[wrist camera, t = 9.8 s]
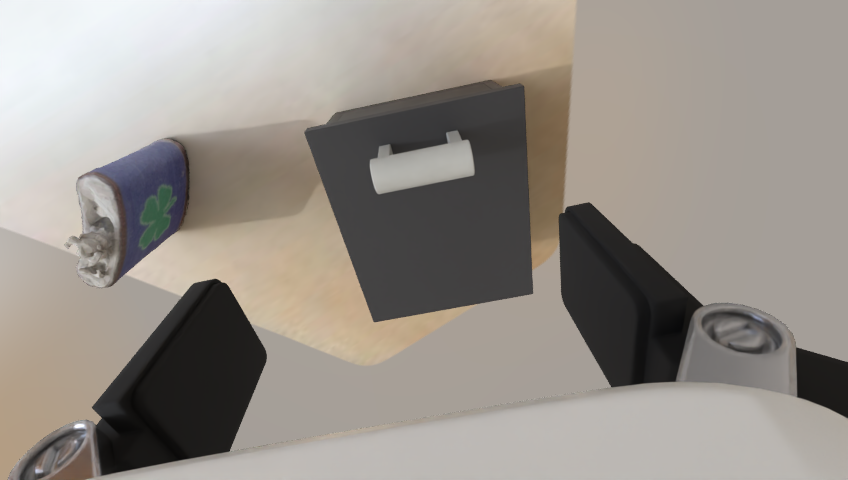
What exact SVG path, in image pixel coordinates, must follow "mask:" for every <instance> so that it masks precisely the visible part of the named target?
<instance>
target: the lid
mask: <svg viewBox="0 0 848 480" xmlns="http://www.w3.org/2000/svg"><path fill="white" fill-rule="evenodd" d="M304 133H305V136H306V138H307V141H308V144H309V147H310V149H311V152H312V155H313V157H314V160H315V163H316V166H317V168H318V171H319V174H320V177H321V179H322V182H323V185H324V187H325V190H326V193H327V196H328V198H329V201H330V204H331V207H332V209H333V212H334V215H335V217H336V220H337V223H338V226H339V228H340V231H341V234H342V237H343V239H344V242H345V245H346V247H347V250H348V253H349V256H350V258H351V261H352V264H353V267H354V269H355V272H356V275H357V277H358V280H359V283H360V286H361V288H362V291H363V294H364V297H365V299H366V302H367V305H368V307H369V310H370V313H371V316H372V318H373V321H374V322H379V321H384V320H390V319H396V318H401V317H407V316H412V315H418V314H423V313H429V312H435V311H440V310H446V309H451V308H457V307H463V306H468V305H474V304H479V303H485V302H490V301H496V300H502V299H507V298H513V297H518V296H524V295H529V294H533V281H532V258H531V235H530V212H529V189H528V166H527V143H526V119H525V96H524V86H523V85H522V84H520V83H519V84H515V85H510V86H505V87H500V88H496V89H491V90H486V91H481V92H477V93H472V94H467V95H462V96H458V97H453V98H448V99H443V100H439V101H434V102H429V103H425V104H420V105H415V106H410V107H406V108H401V109H396V110H391V111H387V112H382V113H377V114H372V115H368V116H363V117H358V118H353V119H349V120H344V121H339V122H334V123H330V124H325V125H320V126H316V127H311V128H307V129H306V131H305V132H304Z"/></svg>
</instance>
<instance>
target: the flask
mask: <svg viewBox="0 0 848 480" xmlns="http://www.w3.org/2000/svg"><path fill="white" fill-rule="evenodd" d="M175 142H176V143H175ZM175 142H174V140H173V141H172V140H171V139H160V140H158V141H156V142H154V143H152V144H150V145H148V146H146V147H144V148H142V149H140V150H138V151H136V152H134V153H132V154H130V155H128V156H126V157H123V158H121V159H119V160H117V161H114V162H112V163H110V164H108V165H105V166H103V167H101V168H96V169H94V170H92V171H90V172H88V173H86V174H84V175H82V176H80V177H79V178H78V180H77V183H76V190H77V194H78V197H79V204H80V207H81V213H82V217H81V218H82V224H83V234H81V235H80V236H79V238H80V239H79V238H77V237H75V236H71V237H69V238H68V240H67V242H66V243H65V244H64V246H65V247H66V248H67V249H69V247H70V245H75V246H77V247H78V250H77V252H76V254H77V255H78V256H79V257H80V259H79V261H78V263H77V273H78V276H79V277H80V278H82V279H83V282H85V283H86V284H88V285H89V286H92V287H97V288H106V287H110V286H112V285H113V284H114V283H116V282H117V281H118V280H119V279H120V278H121V277H122V276H123V275H124V274H125V273H127V272H128V271H129V270H130V269H131V268H133V267H134V266H135V265H136V264H137V263H138V262H140V261H141V260H142V259H143V258H144V257H145V256H147V255H148V254H149V253H150V252H151V251H153V250H154V249H156V248H157V247H158V246H159V245H160V244H161V243H162V242H164V241H165V240H166V239H167V238H169V237H170V236H171V235H172V234H174V233H175V232H176V231H178V230H179V229H180V226H182V224H183V221H184V217H185V215H186V211H187V208H188V207H187V206H188V200H189V195H188V192H189V191H188V190H189V167H188V166H189V162H188V158H187V154H186V150H184V147H183V146H182V145H181V144H180V143H178V142H177V141H175Z"/></svg>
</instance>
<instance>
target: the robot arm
mask: <svg viewBox="0 0 848 480" xmlns="http://www.w3.org/2000/svg"><path fill="white" fill-rule="evenodd" d="M559 239H560V267H561V268H560V269H561V295H562V298H563V302H564V305H565V307H566V309H567V310H568V312H569V314H570V316H571V317H572V319H573V321H574V323H575V324H576V326H577V328H578V330H579V331H580V333H581V335H582V337H583V338H584V340H585V342H586V344H587V345H588V347H589V349H590V350H591V352H592V354H593V356H594V357H595V359H596V361H597V363H598V364H599V366H600V368H601V370H602V371H603V373H604V375H605V377H606V378H607V380H608V382H609V384H610V385H611V388H604V389H597V390H590V391H584V392H577V393H571V394H564V395H557V396H551V397H544V398H538V399H531V400H526V401H519V402H513V403H507V404H501V405H495V406H489V407H484V408H478V409H472V410H466V411H460V412H454V413H448V414H442V415H436V416H430V417H424V418H419V419H413V420H406V421H401V422H395V423H389V424H384V425H378V426H372V427H366V428H360V429H355V430H349V431H344V432H338V433H332V434H326V435H320V436H315V437H309V438H304V439H297V440H292V441H286V442H281V443H275V444H269V445H264V446H258V447H253V448H247V449H242V450H236V451H231V452H229V451H230V449H231V446H232V444H233V441H234V439H235V436H236V434H237V432H238V429H239V427H240V424H241V422H242V419H243V417H244V414H245V412H246V409H247V407H248V405H249V402H250V400H251V397H252V395H253V393H254V390H255V388H256V385H257V383H258V380H259V378H260V375H261V373H262V371H263V368H264V366H265V363H266V359H267V354H266V350H265V348H264V347H263V345H262V343H261V341H260V340H259V338H258V336H257V335H256V333H255V331H254V329H253V328H252V326H251V324H250V322H249V321H248V319H247V317H246V315H245V314H244V312H243V310H242V309H241V307H240V305H239V303H238V302H237V300H236V298H235V297H234V295H233V293H232V291H231V290H230V288H229V286H228V285H227V284H226V283H222V282H221V281H219V280H218V279H212V280H207V281H202V282H198V283H194V284H193V285H192V286H191V287H190V288H189V289H188V291H187V292H186V293H185V294H184V295H183V297H182V298H181V299H180V300H179V302H178V303H177V304H176V305H175V306H174V308H173V309H172V310H171V311H170V313H169V314H168V315H167V316H166V318H165V319H164V320H163V321H162V322H161V324H160V325H159V326H158V327H157V329H156V330H155V331H154V332H153V333H152V335H151V336H150V337H149V338H148V339H147V341H146V342H145V343H144V344H143V346H142V347H141V348H140V349H139V350H138V352H137V353H136V354H135V355H134V357H133V358H132V359H131V361H129V363H128V364H127V365H126V366H125V368H124V369H123V370H122V371H121V372H120V374H119V375H118V376H117V378H116V379H115V380H114V381H113V382H112V383H111V385H110V386H109V387H108V388H107V390H106V391H105V392H104V393H103V394H102V396H101V397H100V398H99V399H98V401H97V402H96V403H95V404H94V406H93V407H92V408H93V409H94V410H95V411H96V412H97V413H98V414H99V415H100V416H101V417H102V419H101V420H100V421H99V423H98V424H97V425H95V424H94V423H93V422H92V421H89V420H80V421H76V422H73V423H70V424H67V425H65V426H63V427H61V428H59V429H57V430H56V431H54V432H52V433H51V434H49V435H48V436H46V437H45V438H43V439H42V440H40V441H39V442H38V443H37V444H36V445H34V446H33V447H32V448H31V449H30V450H28V451H27V453H26V454H25V455H24V456H23V457H22V458H21V459H20V460H19V461H18V462H17V464H16V465H15V466H14V468H13V469H12V471H11V472H10V475H9V477H8V480H848V362H845V361H841V360H838V359H835V358H831V357H828V356H824V355H821V354H817V353H814V352H810V351H807V350H803V349H800V348H796V342H795V339H794V336H793V333H792V332H791V331H790V330H789V329H788V327H787V326H786V325H785V324H784V323H782V322H781V321H779V320H778V319H776V318H775V317H773V316H772V315H770V314H768V313H766V312H763V311H761V310H759V309H756V308H752V307H749V306H745V305H741V304H733V303H714V304H709V305H706V306H703V305H702V304H701V303H700V302H699V301H698V300H697V299H696V298H695V297H694V296H692V295H691V294H690V293H689V292H688V291H687V290H686V289H685V288H684V287H683V286H682V285H681V284H680V283H679V282H678V281H676V280H675V279H674V278H673V277H672V276H671V275H670V274H669V273H668V272H667V271H666V270H665V269H664V268H663V267H662V266H660V265H659V264H658V263H657V262H656V261H655V260H654V259H653V258H652V257H651V256H650V255H649V254H648V253H646V252H645V251H644V250H643V249H642V248H641V247H640V246H639V245H637V244H633V243H632V242H631V241H630V240H629V239H628V238H627V237H625V236H624V235H623V234H622V233H621V232H620V231H619V230H618V229H617V228H616V227H615V226H614V225H613V224H612V223H611V222H610V221H609V220H608V219H607V218H606V217H605V216H604V215H602V214H601V213H600V212H599V211H598V210H597V209H596V208H595V207H594V206H593V205H592V204H591V203H583V204H579V205H574V206H569V207H567V208H566V210H565V213H561V214H560V215H559Z"/></svg>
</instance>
